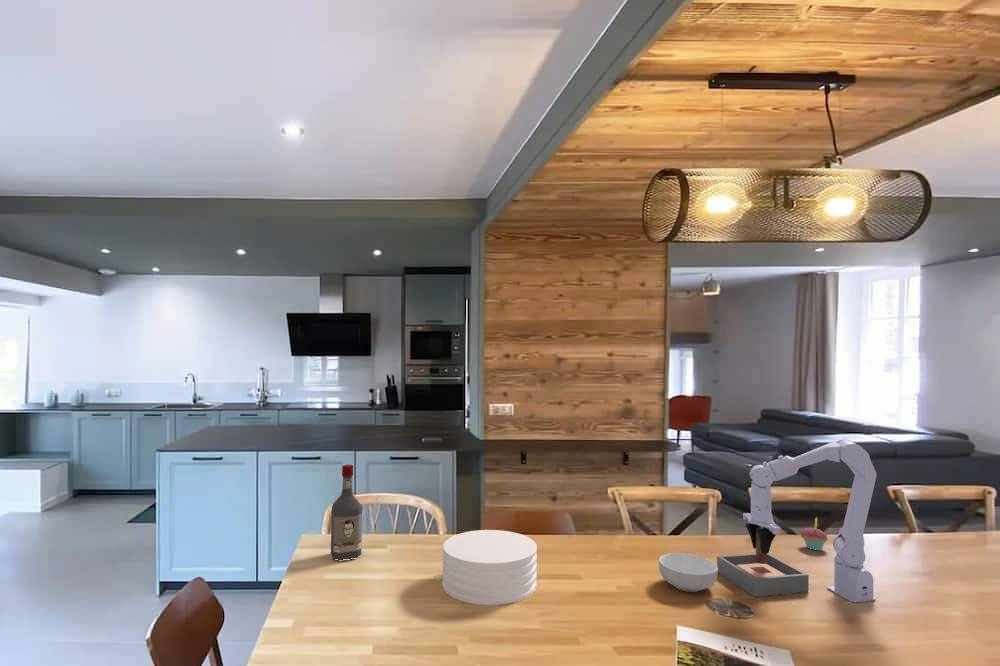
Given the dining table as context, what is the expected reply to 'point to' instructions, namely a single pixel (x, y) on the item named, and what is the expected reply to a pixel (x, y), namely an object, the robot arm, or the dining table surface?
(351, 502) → the liquor
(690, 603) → the dining table surface
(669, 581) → the cereal bowl
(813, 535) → the cupcake
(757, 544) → the peg
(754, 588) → the box
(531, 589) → the plate stack
